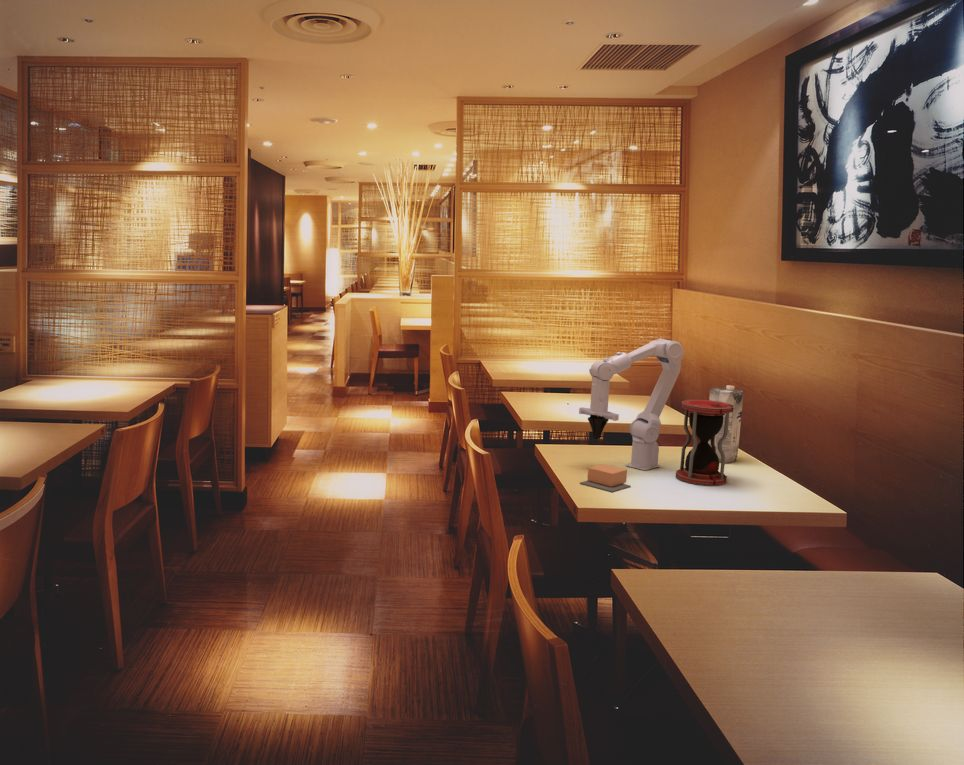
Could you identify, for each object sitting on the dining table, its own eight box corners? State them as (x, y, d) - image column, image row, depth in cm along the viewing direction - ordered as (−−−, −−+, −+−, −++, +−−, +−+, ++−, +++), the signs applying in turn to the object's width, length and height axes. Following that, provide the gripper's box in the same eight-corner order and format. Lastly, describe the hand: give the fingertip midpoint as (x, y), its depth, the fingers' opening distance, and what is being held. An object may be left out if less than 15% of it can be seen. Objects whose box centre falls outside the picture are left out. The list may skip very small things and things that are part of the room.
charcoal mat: (598, 478, 268) (598, 477, 268) (630, 486, 260) (630, 485, 260) (579, 483, 261) (579, 482, 261) (612, 492, 253) (612, 491, 253)
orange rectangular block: (603, 464, 268) (588, 467, 262) (627, 469, 262) (612, 473, 256) (602, 477, 269) (587, 481, 263) (626, 483, 263) (611, 487, 257)
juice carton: (725, 464, 296) (732, 388, 292) (700, 458, 304) (707, 384, 300) (740, 461, 301) (747, 387, 297) (715, 455, 309) (722, 382, 305)
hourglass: (710, 488, 263) (718, 410, 259) (665, 477, 274) (672, 401, 270) (735, 480, 274) (742, 405, 270) (691, 470, 285) (697, 397, 281)
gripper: (574, 395, 278) (571, 436, 281) (611, 402, 269) (608, 444, 271) (587, 393, 284) (584, 433, 286) (623, 400, 274) (620, 441, 276)
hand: (596, 438), depth 279 cm, fingers closed
